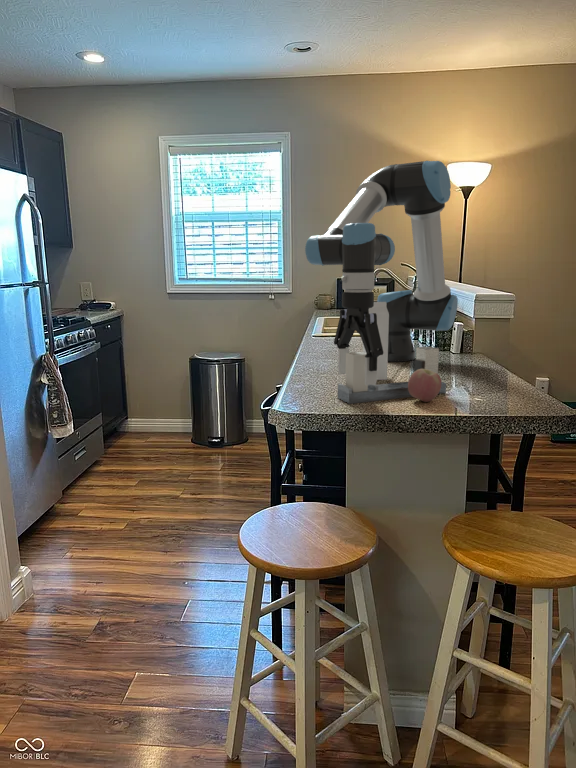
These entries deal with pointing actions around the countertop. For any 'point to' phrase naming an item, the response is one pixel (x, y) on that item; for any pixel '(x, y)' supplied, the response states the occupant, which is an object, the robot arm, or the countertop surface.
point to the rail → (424, 360)
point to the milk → (381, 337)
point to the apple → (424, 384)
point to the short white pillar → (355, 371)
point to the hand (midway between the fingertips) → (356, 379)
